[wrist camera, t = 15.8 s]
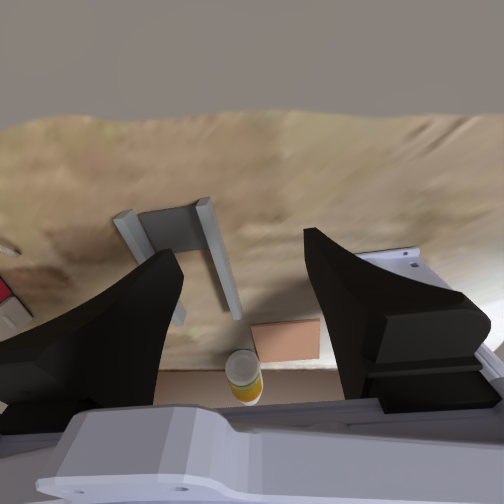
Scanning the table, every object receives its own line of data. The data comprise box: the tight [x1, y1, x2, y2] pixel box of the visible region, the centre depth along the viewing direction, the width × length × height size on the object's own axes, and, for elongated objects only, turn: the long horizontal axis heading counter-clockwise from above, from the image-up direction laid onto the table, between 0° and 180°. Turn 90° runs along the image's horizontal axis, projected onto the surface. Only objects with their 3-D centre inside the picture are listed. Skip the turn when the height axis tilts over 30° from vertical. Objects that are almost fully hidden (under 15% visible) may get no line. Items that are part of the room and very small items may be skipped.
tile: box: [250, 319, 320, 363], centre depth 34 cm, size 10×10×1 cm
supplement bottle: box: [225, 350, 263, 405], centre depth 36 cm, size 5×5×10 cm
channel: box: [113, 197, 242, 326], centre depth 25 cm, size 9×16×2 cm, turn 9°
